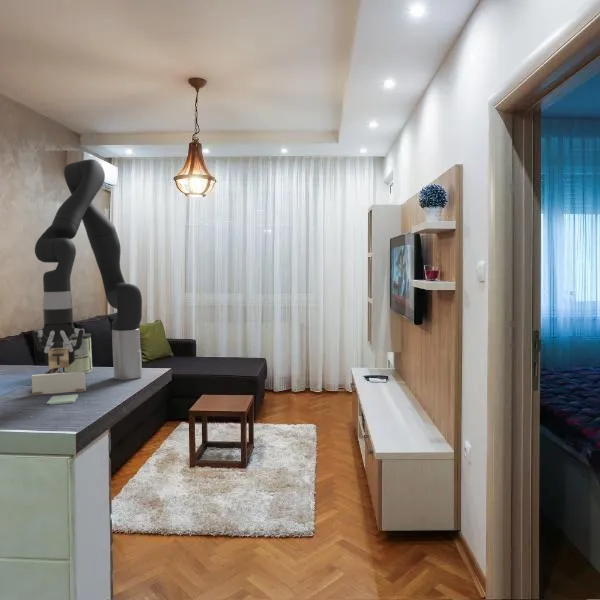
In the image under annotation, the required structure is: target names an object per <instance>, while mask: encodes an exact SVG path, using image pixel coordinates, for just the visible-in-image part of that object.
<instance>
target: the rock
mask: <svg viewBox="0 0 600 600" xmlns="http://www.w3.org/2000/svg"><path fill="white" fill-rule="evenodd" d="M55 373H61V368H49V369H48V370H47V371H45V372H43V374H55Z"/></svg>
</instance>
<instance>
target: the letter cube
mask: <svg viewBox="0 0 600 600" xmlns="http://www.w3.org/2000/svg"><path fill="white" fill-rule="evenodd" d="M48 357H49V366H48V369H51V368H60V369H63V368H66V367H69V366H70V365H69V350H68V348H62V347H55V348H54V347H52V348H51V350H49V351H48Z"/></svg>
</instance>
